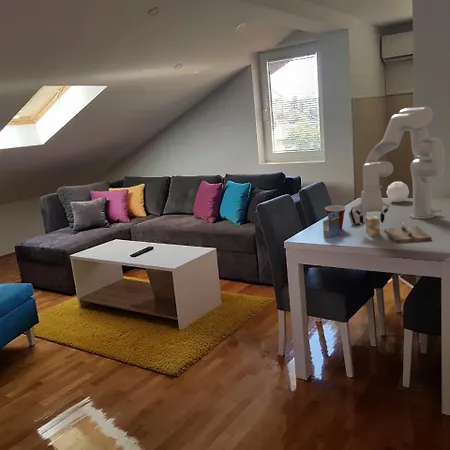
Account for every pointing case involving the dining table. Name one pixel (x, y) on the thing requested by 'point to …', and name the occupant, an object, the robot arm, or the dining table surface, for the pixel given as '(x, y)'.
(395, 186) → the geodesic sphere
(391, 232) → the stub plate
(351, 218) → the white rounded slab
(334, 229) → the label tape box
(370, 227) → the maple block
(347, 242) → the dining table surface
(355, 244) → the dining table surface
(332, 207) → the plastic cup
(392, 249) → the dining table surface
